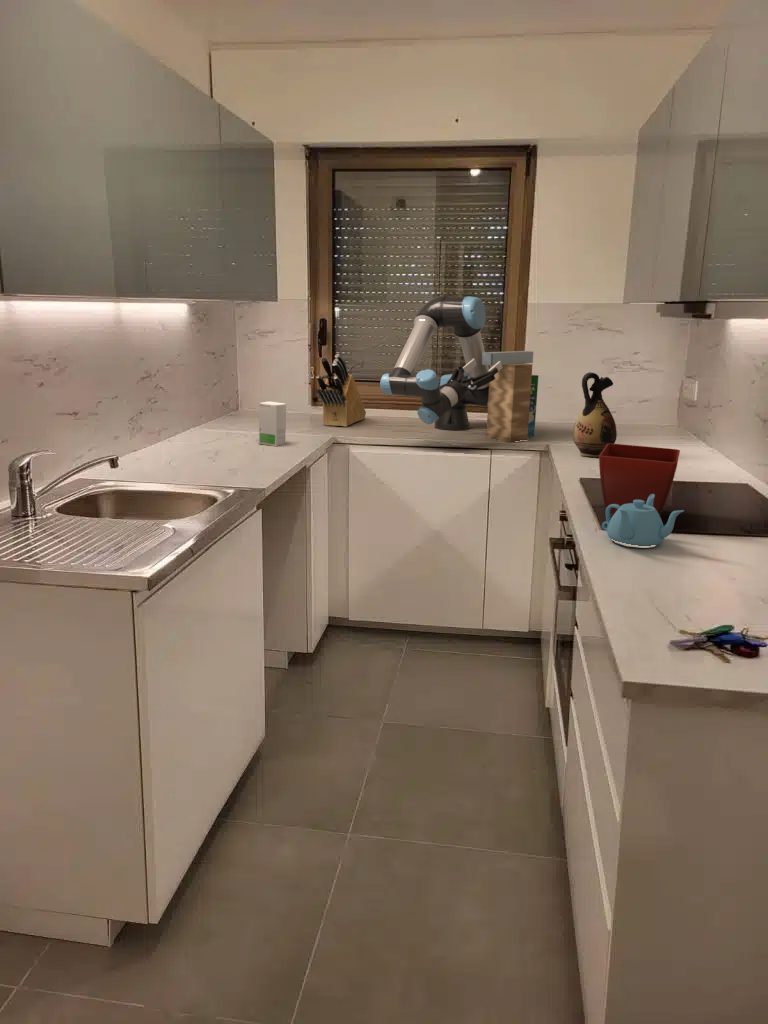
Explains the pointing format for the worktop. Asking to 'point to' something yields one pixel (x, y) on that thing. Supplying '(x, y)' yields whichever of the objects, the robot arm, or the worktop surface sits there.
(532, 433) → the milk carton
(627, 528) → the teapot
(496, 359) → the foil box
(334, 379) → the knife block
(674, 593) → the worktop surface
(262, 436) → the skincare box
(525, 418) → the oak box
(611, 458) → the plant pot
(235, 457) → the worktop surface
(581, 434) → the ceramic jug
